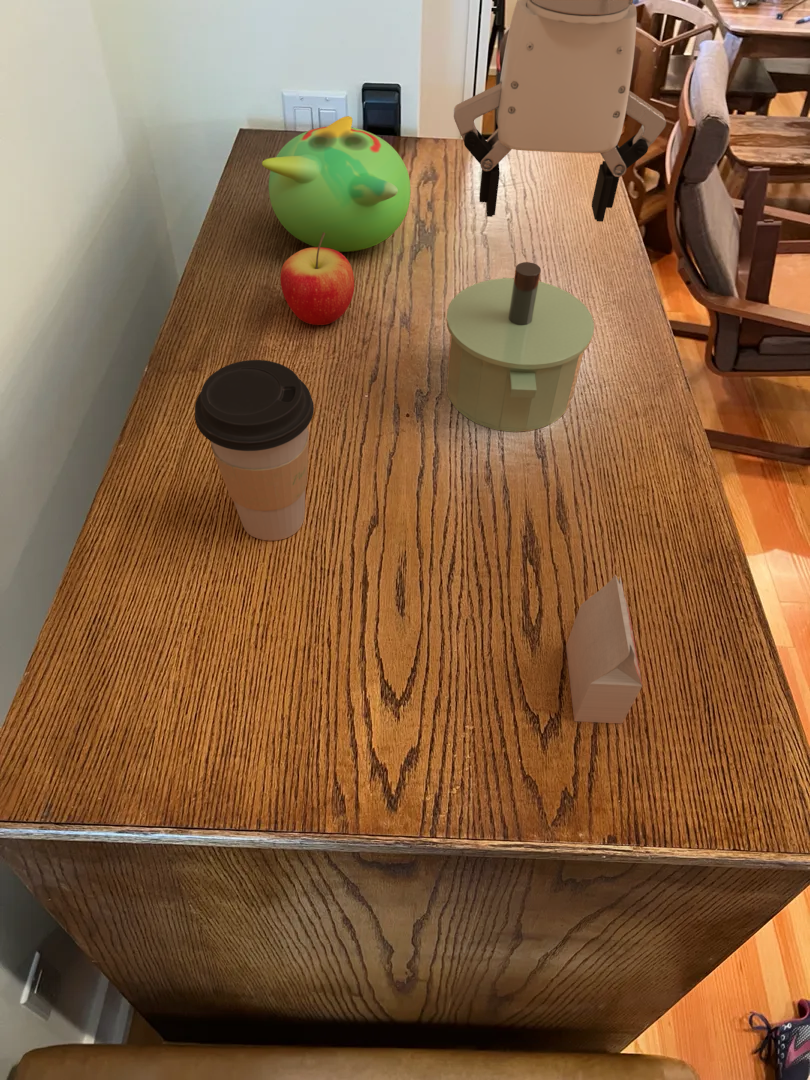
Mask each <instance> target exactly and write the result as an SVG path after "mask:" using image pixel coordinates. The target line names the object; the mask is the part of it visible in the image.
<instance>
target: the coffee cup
mask: <svg viewBox="0 0 810 1080" xmlns="http://www.w3.org/2000/svg"><path fill="white" fill-rule="evenodd" d="M314 413H315V403H314V400H313V398H312V394H311V391H310V390H309V388H308V387H307V384H306V383H304V381H303V380H301V378H299V377H298V375H297V373H295V372H294V371H293V370H292V369H291V368H290V367H287V366H286V365H284V364H281V363H278V362H276V361H271V360H264V359H247V360H241V361H236V362H233V363H230V364H228V365H225V366H223V367H221V368H219V369H218V370H216V371H214V372H213V373H212V374H211V375H209V377H208V378H207V379H206V380H205V381H204V383H203V385H202V388H201V390H200V392H199V394H198V396H197V398H196V400H195V404H194V419H195V420H194V421H195V424H196V427H197V429H198V430H199V432H200V434H202V435H203V436H204V438H206V440H208V441H210V448H211V450H212V453H213V456H214V458H215V462H216V463H217V466H218V470H219V472H220V474H221V476H222V480H223V483H224V485H225V488H226V489H227V493H228V496H229V498H230V499H231V500H232V502H233V504H234V506H235V509H236V512H237V514H238V517H239V519H240V523H241V525H242V527H243V529H244V531H245V533H247V534H248V535H249V536H250V537H253V538H256V539H258V540H261V541H268V542H270V541H273V542H274V541H281V540H285V539H288V538H290V537H292V536H294V535H295V534H296V533H298V531H299V530H300V529H301V527H302V525H303V524H304V520H305V515H306V514H305V512H306V488H307V484H308V476H309V475H308V474H309V449H310V447H309V444H310V443H309V442H310V431H309V425H310V423H311V421H312V420H313V416H314Z"/></svg>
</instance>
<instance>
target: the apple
mask: <svg viewBox="0 0 810 1080" xmlns="http://www.w3.org/2000/svg"><path fill="white" fill-rule="evenodd" d="M324 236H325V233H324V232H323V234H322V236H321V239H320V243H319V246H318V247H314V246H311V247H307V248H302V249H301V250H298V251H297V252H295V253H293V254H292V255H290V257H288V258H287V259H286V260H285V261H284V262H283V265H282V267H281V271H280V286H281V291H282V294H283V298H284V300H285V302H286V303H287V305H288V307H289V309H290V311H292V313H293V314H294V315H295V316H296V317H297V318H298V319H299V320H300V321H302V322H304V323H306V324H309V325H315V326H323V325H324V326H325V325H329V324H332V323H334V322H335V321H337V320H338V319H340V318H341V317H342V316H343V315H344V314H345V312H347V310H348V308H349V306H350V305H351V303H352V300H353V297H354V291H355V276H354V271H353V268H352V266H351V263H350V262H349V260H348V259H347V258H346V256H345V255H344V254H343V253H342V252H338V251H336V250H334V249H330V248H323V247H320V246H321V243H322V240H323V238H324Z"/></svg>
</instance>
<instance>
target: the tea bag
mask: <svg viewBox="0 0 810 1080" xmlns="http://www.w3.org/2000/svg"><path fill="white" fill-rule="evenodd" d="M623 586H624V585H623V582H622V576H621V574H620V575H619V579H618V576H617V574H614V575H613V576H612V578H610V580H609V581H607V583H606V584H604V586H602V587H601V588H600V589H599V590H598V591H597V592H595V593H593V595H591V596H590V597H589V598H587V599H586V600H585V601H583V602H582V603H581V604H580V605H579V607H578V611H577V613H576V617H575V619H574V622H573V624H572V626H571V627H572V628H571V630H570V633H569V636H568V639H567V641H566V645H565V651H566V658H567V668H568V676H569V677H568V678H569V685H570V696H571V704H572V714H573V721H574V722H579V723H581V722H582V723H600V724H601V723H603V724H621V725H623V723H624V721H625V719H626V717H627V716H628V714H629V712H630V710H631V709H632V706H633V705H634V702H635V701H636V699H637V697H638V695H639V694H640V692H641V690H642V688H643V682H642V681H643V680H642V675H641V670H640V663H639V659H638V658H639V657H638V653H637V647H636V642H635V641H636V640H635V636H634V630H633V625H632V618H631V613H630V608H629V605H628V603H627V600H626V596H625V593H624V587H623Z"/></svg>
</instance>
